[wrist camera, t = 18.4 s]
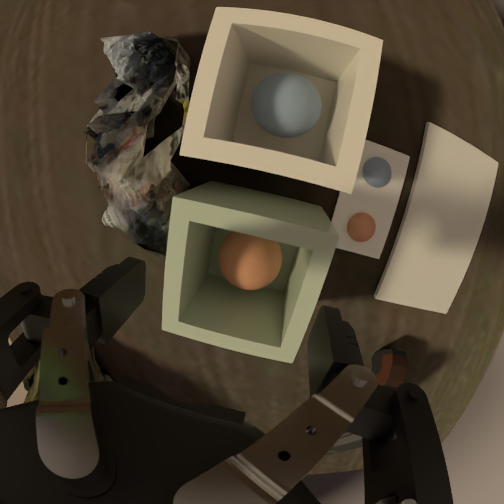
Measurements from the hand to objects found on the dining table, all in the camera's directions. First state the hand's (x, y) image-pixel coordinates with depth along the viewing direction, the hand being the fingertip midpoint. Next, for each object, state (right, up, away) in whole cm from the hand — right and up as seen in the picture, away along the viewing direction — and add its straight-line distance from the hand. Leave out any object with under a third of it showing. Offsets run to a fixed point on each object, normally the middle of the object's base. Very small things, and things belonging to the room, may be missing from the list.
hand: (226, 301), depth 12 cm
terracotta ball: (+1, +2, +8) cm, 9 cm away
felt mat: (+18, +4, +8) cm, 20 cm away
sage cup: (+1, +3, +11) cm, 11 cm away
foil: (-7, +12, +9) cm, 17 cm away
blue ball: (+3, +12, +4) cm, 13 cm away
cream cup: (+4, +13, +7) cm, 15 cm away
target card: (+10, +6, +8) cm, 15 cm away
